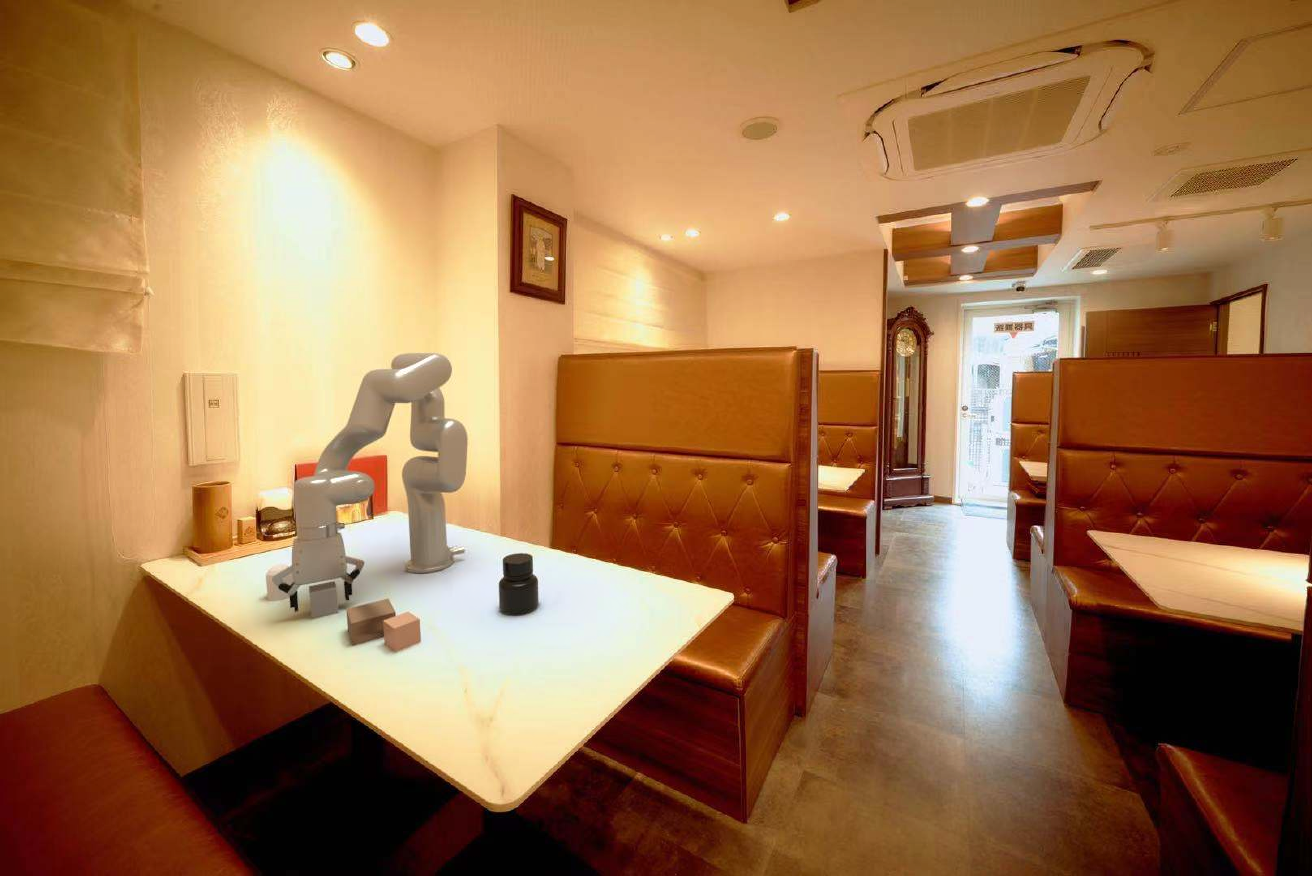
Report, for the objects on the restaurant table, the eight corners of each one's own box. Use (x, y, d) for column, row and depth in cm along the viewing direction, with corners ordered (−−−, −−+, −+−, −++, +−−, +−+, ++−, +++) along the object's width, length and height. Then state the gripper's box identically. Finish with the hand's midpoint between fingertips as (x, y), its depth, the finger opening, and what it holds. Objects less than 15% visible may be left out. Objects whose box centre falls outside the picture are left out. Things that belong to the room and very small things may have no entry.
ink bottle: (523, 594, 122) (522, 548, 121) (547, 604, 117) (546, 556, 116) (490, 609, 114) (488, 560, 113) (514, 620, 109) (513, 569, 108)
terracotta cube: (409, 634, 104) (408, 611, 103) (420, 642, 101) (419, 618, 100) (384, 643, 100) (383, 620, 99) (395, 652, 97) (394, 628, 96)
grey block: (336, 605, 116) (334, 581, 116) (338, 613, 112) (336, 588, 112) (310, 611, 113) (308, 586, 113) (311, 619, 109) (309, 594, 109)
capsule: (280, 601, 118) (277, 570, 117) (262, 599, 119) (258, 568, 118) (300, 592, 123) (297, 561, 122) (282, 590, 124) (279, 560, 123)
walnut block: (389, 619, 110) (388, 598, 109) (397, 634, 104) (395, 612, 103) (348, 630, 105) (346, 608, 104) (352, 647, 99) (351, 623, 98)
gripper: (360, 521, 119) (364, 589, 120) (269, 534, 108) (275, 608, 110) (364, 529, 113) (368, 600, 114) (268, 543, 102) (274, 621, 104)
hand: (322, 604), depth 112 cm, fingers open, 9 cm apart
